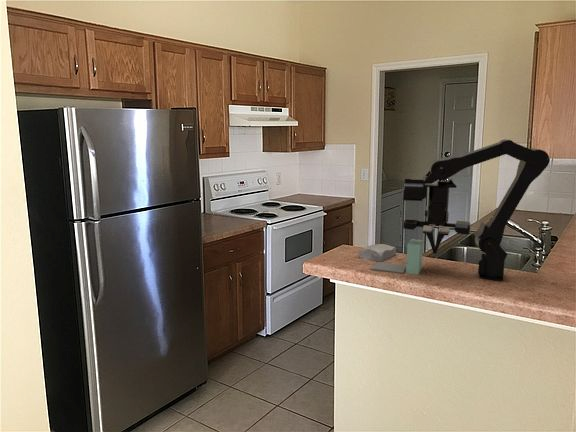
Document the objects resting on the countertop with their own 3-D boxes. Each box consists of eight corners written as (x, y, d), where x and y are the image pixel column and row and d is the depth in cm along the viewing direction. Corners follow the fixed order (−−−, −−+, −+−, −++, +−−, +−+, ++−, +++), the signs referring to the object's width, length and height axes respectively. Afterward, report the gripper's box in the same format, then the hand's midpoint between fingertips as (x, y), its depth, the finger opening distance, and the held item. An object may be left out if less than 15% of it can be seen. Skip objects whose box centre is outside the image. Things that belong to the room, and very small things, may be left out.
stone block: (356, 263, 162) (383, 262, 156) (354, 249, 162) (381, 248, 155) (372, 257, 171) (398, 256, 165) (371, 243, 171) (396, 242, 165)
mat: (407, 266, 152) (407, 265, 152) (403, 273, 144) (403, 272, 144) (376, 262, 156) (376, 261, 155) (370, 269, 148) (370, 268, 148)
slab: (421, 268, 150) (423, 240, 148) (418, 274, 144) (419, 245, 142) (409, 266, 151) (411, 239, 150) (406, 273, 145) (407, 244, 143)
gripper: (473, 200, 145) (469, 250, 148) (410, 196, 152) (408, 244, 155) (471, 206, 135) (467, 259, 138) (404, 201, 142) (401, 252, 145)
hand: (434, 253), depth 144 cm, fingers closed
